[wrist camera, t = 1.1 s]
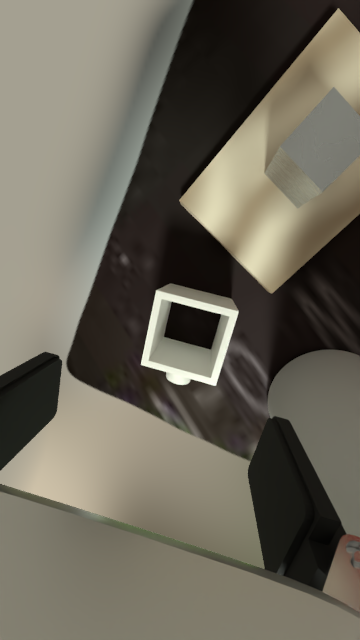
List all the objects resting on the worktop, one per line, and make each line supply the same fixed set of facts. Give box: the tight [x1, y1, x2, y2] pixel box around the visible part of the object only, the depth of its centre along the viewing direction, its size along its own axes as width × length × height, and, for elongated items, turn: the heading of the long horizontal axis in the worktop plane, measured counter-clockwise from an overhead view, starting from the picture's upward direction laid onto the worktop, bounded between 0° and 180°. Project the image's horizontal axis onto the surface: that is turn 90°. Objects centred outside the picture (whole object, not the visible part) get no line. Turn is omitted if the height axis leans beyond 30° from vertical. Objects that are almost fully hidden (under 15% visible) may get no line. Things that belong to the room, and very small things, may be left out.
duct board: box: [179, 8, 360, 294], centre depth 21 cm, size 13×18×2 cm
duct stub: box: [264, 87, 360, 208], centre depth 18 cm, size 4×4×5 cm
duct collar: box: [141, 283, 239, 386], centre depth 24 cm, size 7×10×7 cm
